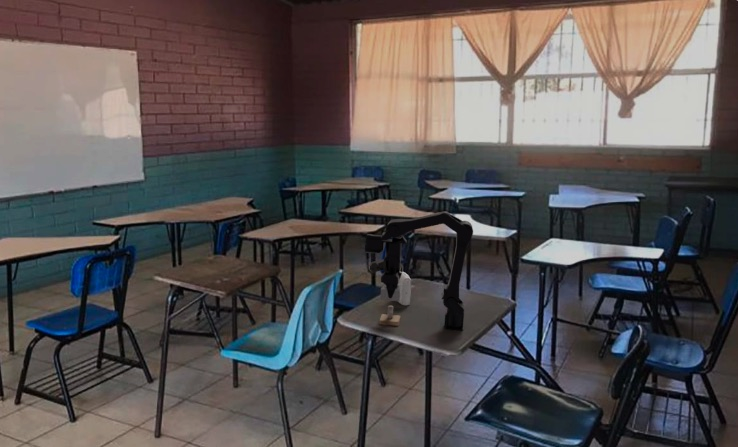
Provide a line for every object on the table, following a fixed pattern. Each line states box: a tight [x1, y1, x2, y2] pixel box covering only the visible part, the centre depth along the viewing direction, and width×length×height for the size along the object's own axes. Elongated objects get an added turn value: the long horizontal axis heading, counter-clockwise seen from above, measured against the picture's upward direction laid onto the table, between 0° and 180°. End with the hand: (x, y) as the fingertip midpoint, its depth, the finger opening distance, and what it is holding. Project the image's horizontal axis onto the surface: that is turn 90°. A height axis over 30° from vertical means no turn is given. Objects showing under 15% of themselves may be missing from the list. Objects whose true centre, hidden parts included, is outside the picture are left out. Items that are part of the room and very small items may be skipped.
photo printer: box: [397, 271, 412, 306], centre depth 256 cm, size 10×4×12 cm, turn 17°
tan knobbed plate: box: [379, 305, 401, 327], centre depth 233 cm, size 7×7×6 cm
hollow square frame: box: [380, 283, 402, 302], centre depth 231 cm, size 7×7×4 cm
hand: (391, 295), depth 232 cm, fingers closed on hollow square frame, 7 cm apart
